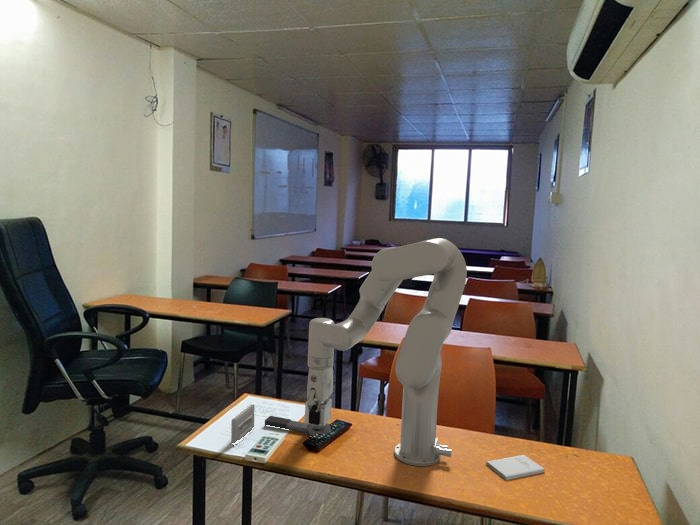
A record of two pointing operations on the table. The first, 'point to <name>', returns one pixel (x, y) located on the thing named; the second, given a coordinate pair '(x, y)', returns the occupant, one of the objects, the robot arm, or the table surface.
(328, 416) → the grey block
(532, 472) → the external hard drive
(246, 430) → the cassette
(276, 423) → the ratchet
